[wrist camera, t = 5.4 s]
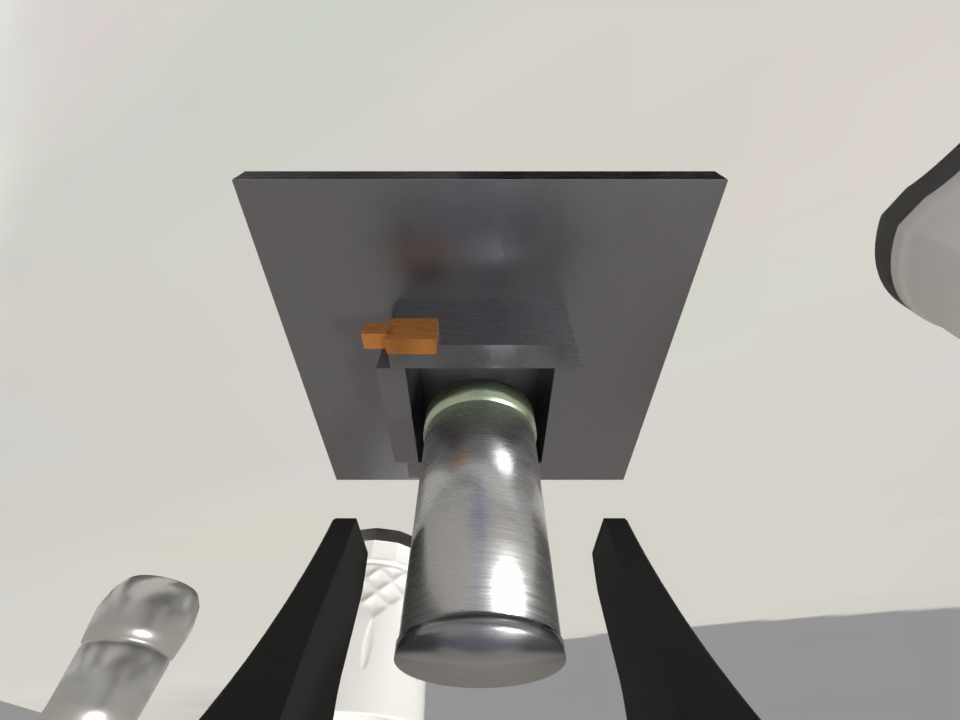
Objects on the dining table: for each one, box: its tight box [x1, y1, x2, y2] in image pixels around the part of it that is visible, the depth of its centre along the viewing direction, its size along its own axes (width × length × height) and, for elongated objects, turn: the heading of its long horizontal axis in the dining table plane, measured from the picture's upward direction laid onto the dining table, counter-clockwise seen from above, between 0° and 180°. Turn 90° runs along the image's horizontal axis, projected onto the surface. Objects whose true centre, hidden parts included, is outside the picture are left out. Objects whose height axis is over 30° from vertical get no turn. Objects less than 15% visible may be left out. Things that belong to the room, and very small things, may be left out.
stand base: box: [232, 171, 728, 480], centre depth 18 cm, size 16×16×4 cm
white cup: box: [333, 528, 426, 720], centre depth 27 cm, size 8×8×10 cm
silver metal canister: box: [394, 378, 566, 688], centre depth 13 cm, size 4×4×8 cm
